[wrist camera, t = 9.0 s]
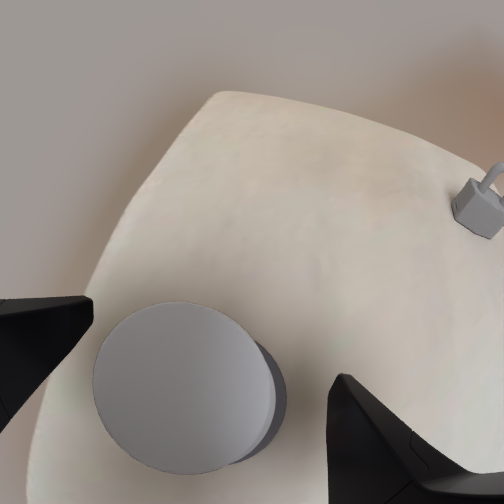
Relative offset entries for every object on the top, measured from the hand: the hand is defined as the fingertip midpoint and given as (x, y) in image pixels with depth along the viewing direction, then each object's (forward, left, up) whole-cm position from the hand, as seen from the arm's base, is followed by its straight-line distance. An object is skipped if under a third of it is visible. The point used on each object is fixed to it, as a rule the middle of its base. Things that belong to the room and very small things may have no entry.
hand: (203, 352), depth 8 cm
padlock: (+30, -15, -9) cm, 34 cm away
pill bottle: (-1, -1, -8) cm, 8 cm away
